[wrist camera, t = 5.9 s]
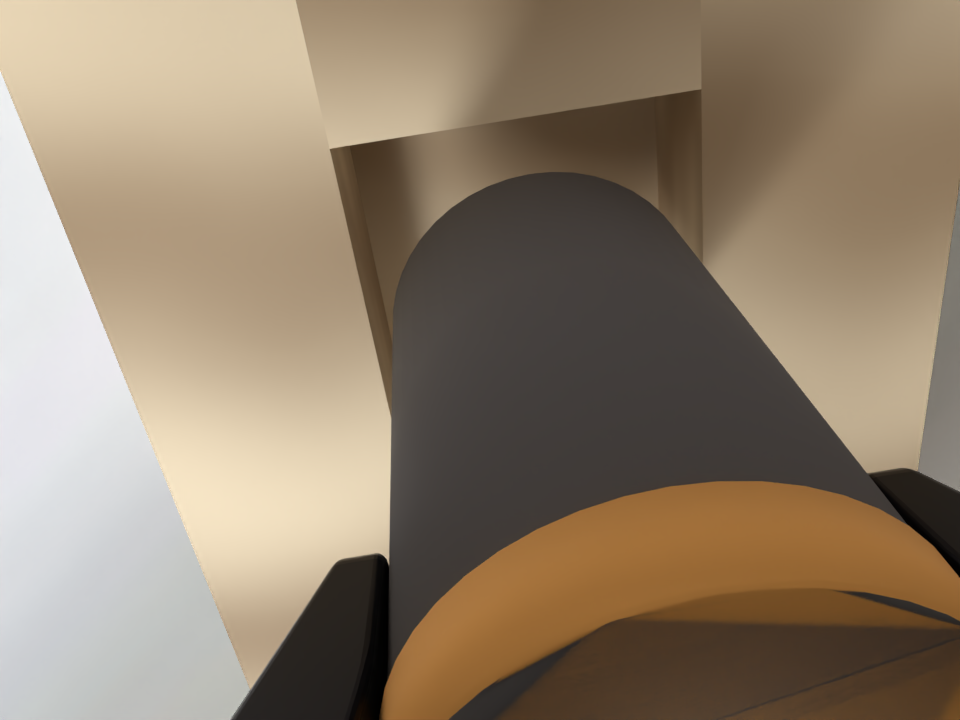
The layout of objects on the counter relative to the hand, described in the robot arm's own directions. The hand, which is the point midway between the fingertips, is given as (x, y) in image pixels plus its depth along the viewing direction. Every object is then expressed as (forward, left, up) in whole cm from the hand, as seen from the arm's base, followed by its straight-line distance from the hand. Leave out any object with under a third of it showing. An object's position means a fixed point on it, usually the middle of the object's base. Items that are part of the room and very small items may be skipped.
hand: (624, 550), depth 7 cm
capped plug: (0, 0, -4) cm, 4 cm away
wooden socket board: (-6, 0, -8) cm, 11 cm away
